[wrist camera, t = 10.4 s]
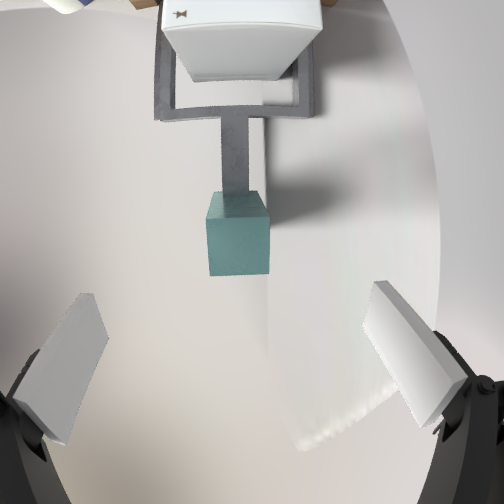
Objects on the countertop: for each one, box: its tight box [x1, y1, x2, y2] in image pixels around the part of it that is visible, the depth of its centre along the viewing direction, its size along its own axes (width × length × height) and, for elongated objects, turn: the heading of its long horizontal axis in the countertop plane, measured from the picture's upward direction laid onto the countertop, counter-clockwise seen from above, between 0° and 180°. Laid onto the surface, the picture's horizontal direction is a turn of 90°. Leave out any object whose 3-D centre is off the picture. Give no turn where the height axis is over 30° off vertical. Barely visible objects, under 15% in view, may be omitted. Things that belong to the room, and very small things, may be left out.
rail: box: [154, 0, 314, 120], centre depth 19 cm, size 28×16×1 cm, turn 0°
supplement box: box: [161, 0, 323, 82], centre depth 15 cm, size 9×9×15 cm
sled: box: [160, 31, 309, 276], centre depth 20 cm, size 26×14×10 cm, turn 0°
